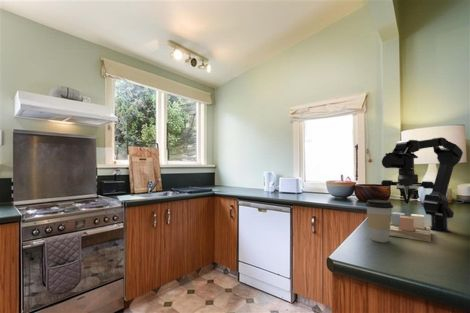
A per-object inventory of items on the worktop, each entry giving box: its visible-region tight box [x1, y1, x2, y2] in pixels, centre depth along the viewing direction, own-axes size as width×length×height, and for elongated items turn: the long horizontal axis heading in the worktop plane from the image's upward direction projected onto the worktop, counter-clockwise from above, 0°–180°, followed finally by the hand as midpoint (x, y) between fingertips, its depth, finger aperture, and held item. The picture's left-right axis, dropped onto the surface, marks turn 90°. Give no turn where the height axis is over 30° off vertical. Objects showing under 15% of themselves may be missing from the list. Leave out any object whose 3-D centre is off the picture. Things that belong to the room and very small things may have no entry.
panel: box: [389, 221, 432, 243], centre depth 102 cm, size 16×15×2 cm
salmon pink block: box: [400, 215, 414, 231], centre depth 99 cm, size 4×4×5 cm
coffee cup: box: [364, 199, 394, 243], centre depth 93 cm, size 9×9×15 cm
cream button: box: [410, 213, 426, 229], centre depth 103 cm, size 4×4×5 cm
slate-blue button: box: [391, 211, 406, 226], centre depth 108 cm, size 4×4×5 cm
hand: (407, 203), depth 106 cm, fingers closed
